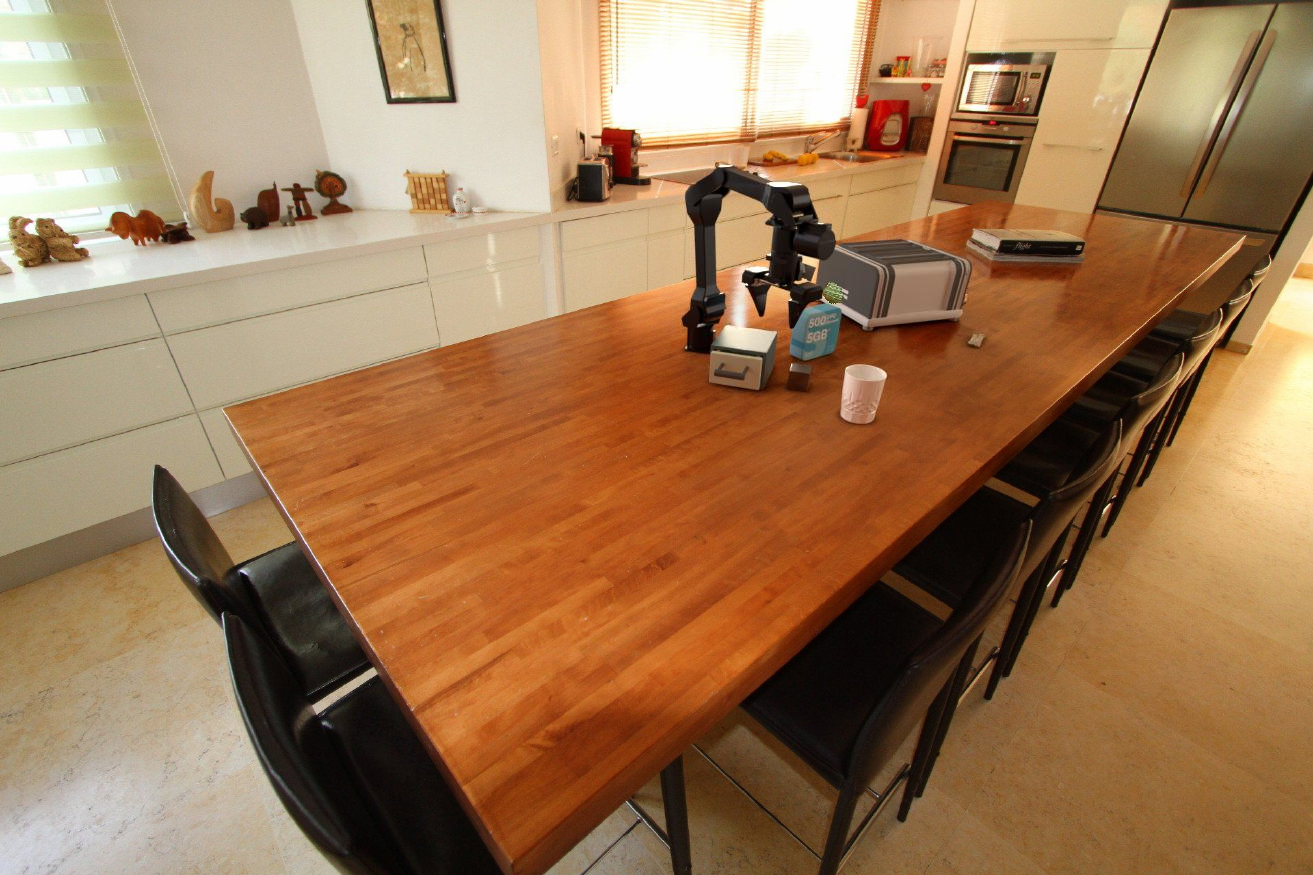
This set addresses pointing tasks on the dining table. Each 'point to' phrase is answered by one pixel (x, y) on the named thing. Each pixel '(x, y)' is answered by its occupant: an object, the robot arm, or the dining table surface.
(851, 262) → the toaster
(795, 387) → the block
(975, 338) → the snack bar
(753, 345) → the cabinet
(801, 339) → the data package
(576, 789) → the dining table surface
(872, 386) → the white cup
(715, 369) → the drawer
